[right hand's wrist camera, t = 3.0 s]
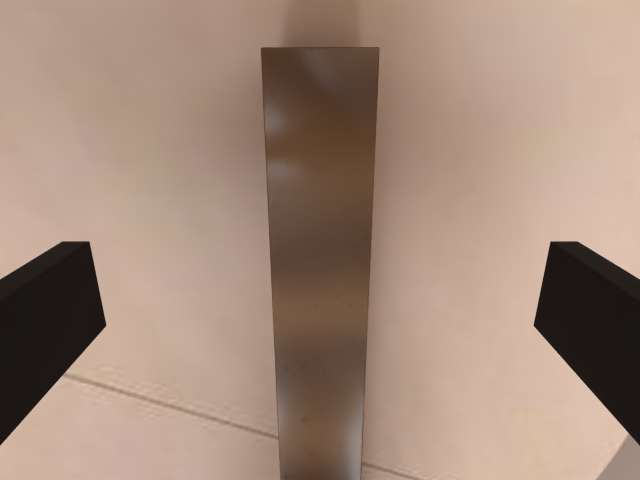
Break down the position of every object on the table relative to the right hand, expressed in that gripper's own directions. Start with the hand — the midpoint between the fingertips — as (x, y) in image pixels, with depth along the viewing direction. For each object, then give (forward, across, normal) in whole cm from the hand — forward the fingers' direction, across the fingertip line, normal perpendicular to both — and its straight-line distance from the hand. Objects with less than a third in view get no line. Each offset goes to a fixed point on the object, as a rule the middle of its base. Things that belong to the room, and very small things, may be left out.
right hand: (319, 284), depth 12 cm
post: (+16, 0, -18) cm, 24 cm away
